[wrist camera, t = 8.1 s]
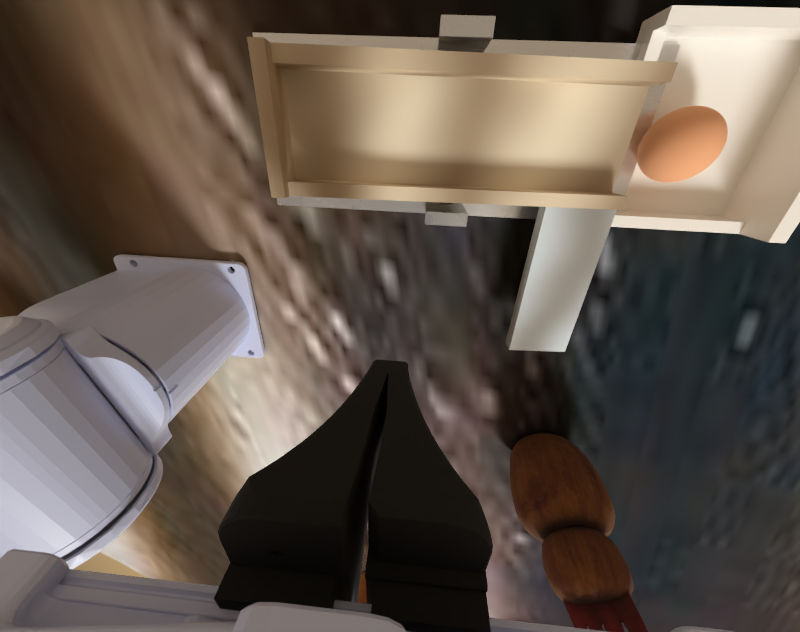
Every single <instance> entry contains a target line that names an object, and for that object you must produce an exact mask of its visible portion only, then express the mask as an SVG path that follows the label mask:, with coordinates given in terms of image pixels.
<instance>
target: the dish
mask: <svg viewBox="0 0 800 632" xmlns="http://www.w3.org/2000/svg"><path fill="white" fill-rule="evenodd" d="M636 44H642V46H641V49H640V52H639V55H638V58H637V60H641V61H657V60H658V57H659V55H660V52H661V49H662V46H663V44H671V45H681V46H680V48H679V51H678V54H677V56H676V59H675V62H678V64H677V67H676V70H675V72H674V75H673V78H672V80H671V82H668V83H666V86H665V89H664V91H663V94H662V97H661V99H660V102H659V105H658V108H657V110H656V113H655V116H654V118H653V121H652V124H651V126H652V125H653V124H654V123H655V122H656V121H657V120H659V119H660V118H661V117H663V116H665V115H666V114H668V113H670V112H672V111H674V110H677V109H680V108H683V107H688V106H705V107H709V108H712V109H714V110H716V111H717V112H719V113H720V114H721V115H722V116H723V118H724V119H725V121H726V124H727V129H728V135H727V141H726V144H725V146H724V148H723V150H722V152H721V153H720V155H719V156H718V158H717V159H716V160H715V161H714V162H713V163H712V164H711V165H710V166H709V167H707V168H706V169H705V170H703V171H702V172H700V173H699V174H697V175H695V176H693V177H691V178H688V179H685V180H682V181H678V182H658V181H655V180H652V179H650V178H649V177H647V176H646V175H645V174H643V172H642V171H641V170H640V168H639V166H638V162H637V164H636V167H635V170H634V172H633V175H632V178H631V180H630V183H629V186H628V188H627V191H626V194H625V196H628V197H627V200H626V203H625V205H624V208H623V210H619V211H616V214H615V216H614V219H613V222H612V225H611V227H626V228H644V229H662V230H680V231H697V232H715V233H733V234H742V235H745V236H748V237H752V238H755V239H759V240H762V241H765V242H772V243H786V242H787V240H788V239H789V237H790V236H791V234H792V233H793V231H794V230H795V228H796V226H797V225H798V223H799V222H800V8H776V7H733V6H690V5H672V6H670V7H668V8H666V9H665V10H663V11H661V12H659V13H657V14H656V15H654V16H652V17H650V18H648V19H647V20H645V21H643V22H642V25H641V28H640V31H639V35H638V38H637V41H636ZM651 126H650V127H651Z"/></svg>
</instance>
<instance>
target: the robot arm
mask: <svg viewBox="0 0 800 632" xmlns="http://www.w3.org/2000/svg"><path fill="white" fill-rule="evenodd" d="M113 260H114V263H115V266H116V268H117V271H114V272H112V273H110V274H107V275H105V276H102V277H100V278H97V279H95V280H93V281H90V282H88V283H85V284H83V285H80V286H78V287H75V288H73V289H71V290H68V291H66V292H63V293H61V294H58V295H56V296H54V297H51V298H49V299H46V300H44V301H41V302H39V303H37V304H34V305H33V306H31V307H29V308H27V309H26V310H24V311H23V312H21V313H20V314H19V315H18V316H7V317H0V632H607V631H598V630H589V629H581V628H572V627H564V626H555V625H546V624H538V623H529V622H521V621H512V620H503V619H495V618H489V613H488V605H487V597H486V592H487V578H486V571H485V570H486V568H487V565H488V562H489V560H490V557H491V554H492V548H493V544H492V539H491V535H490V531H489V527H488V524H487V521H486V518H485V515H484V512H483V510H482V507H481V505H480V502H479V500H478V498H477V497H476V496H475V495H474V494H473V492H472V491H471V490H470V489H469V488H468V486H467V485H466V484H465V483H464V482H463V480H462V479H461V478H460V476H459V475H458V474H457V472H456V471H455V470H454V468H453V467H452V466H451V464H450V463H449V461H448V460H447V458H446V457H445V455H444V454H443V452H442V451H441V449H440V448H439V446H438V444H437V443H436V441H435V439H434V437H433V436H432V434H431V432H430V430H429V428H428V426H427V424H426V422H425V420H424V418H423V416H422V413H421V411H420V409H419V406H418V404H417V401H416V398H415V395H414V392H413V389H412V386H411V382H410V378H409V372H408V364H407V363H406V362H401V361H388V360H375V361H374V362H373V363H372V365H371V367H370V369H369V370H368V372H367V373H366V375H365V376H364V378H363V379H362V381H361V382H360V383H359V385H358V386H357V387H356V389H355V390H354V391H353V393H352V394H351V395H350V396H349V397H348V398H347V400H346V401H345V402H344V403H343V404H342V405H341V407H340V408H339V409H338V410H337V411H336V412H335V413H334V414H333V415H332V416H331V417H330V418H329V419H328V420H327V421H326V422H325V423H324V424H323V425H322V426H320V427H319V428H318V429H317V430H316V431H315V432H314V433H312V434H311V435H310V436H309V437H308V438H306V439H305V440H304V441H303V442H301V443H300V444H299V445H297V446H296V447H294V448H293V449H292V450H290V451H289V452H288V453H286V454H285V455H284V456H282V457H281V458H279V459H278V460H276V461H275V462H273V463H271V464H270V465H268V466H266V467H265V468H263V469H262V470H260V471H258V472H257V473H255V474H253V475H252V476H250V477H249V478H248V479H247V481H246V482H245V484H244V485H243V487H242V488H241V489H240V491H239V492H238V494H237V495H236V497H235V499H234V500H233V502H232V504H231V506H230V508H229V510H228V511H227V513H226V515H225V517H224V519H223V521H222V523H221V524H220V527H219V530H218V533H219V537H220V541H221V543H222V545H223V547H224V549H225V552H226V554H227V556H228V558H229V560H230V562H231V563H230V565H229V567H228V569H227V571H226V573H225V575H224V577H223V580H222V582H221V584H220V586H211V585H202V584H194V583H185V582H177V581H168V580H159V579H151V578H141V577H134V576H124V575H116V574H108V573H99V572H91V571H81V570H73V569H74V568H75V567H77V566H79V565H80V564H82V563H84V562H85V561H87V560H88V559H90V558H91V557H92V556H94V555H96V554H97V553H98V552H100V551H101V550H103V549H104V548H105V547H107V546H108V545H109V544H110V543H112V542H113V541H114V540H115V539H116V538H117V537H118V536H120V535H121V534H122V533H123V532H124V531H125V530H126V529H127V528H128V527H129V526H130V525H131V524H132V523H133V521H134V520H135V519H136V518H137V517H138V515H139V514H140V513H141V512H142V510H143V509H144V508H145V507H146V505H147V504H148V503H149V501H150V499H151V498H152V496H153V495H154V493H155V491H156V489H157V487H158V485H159V483H160V480H161V477H162V472H163V466H162V461H161V459H160V457H159V456H158V455H157V453H158V452H159V451H160V450H161V449H162V448H163V447H164V445H165V444H166V443H167V442H168V441H169V440H170V438H171V437H172V435H171V433H170V431H169V429H168V423H169V422H170V421H171V420H172V419H173V418H174V417H175V416H176V415H177V413H178V412H179V411H180V410H181V409H182V408H183V407H184V406H185V405H186V404H187V403H188V401H189V400H190V399H191V398H192V397H193V396H194V395H195V394H196V393H197V392H198V391H199V390H200V388H201V387H202V386H203V385H204V384H205V383H206V382H207V381H208V380H209V379H210V378H211V377H212V375H213V374H214V373H215V372H216V371H217V370H218V369H219V368H220V367H221V366H222V365H223V364H224V362H225V361H226V360H227V359H228V358H229V357H230V356H240V357H253V358H261V357H263V355H264V354H265V348H264V344H263V339H262V334H261V330H260V325H259V320H258V315H257V311H256V306H255V301H254V297H253V292H252V287H251V283H250V278H249V273H248V269H247V267H246V265H245V264H243V263H241V262H232V261H217V260H202V259H186V258H171V257H156V256H140V255H125V254H120V255H117V256H115V257H114V259H113ZM135 261H136V262H137V264H138V265H137V264H136V263H135ZM230 267H233V268H234V270H235V272H234V271H232V270H231V268H230ZM251 350H252V351H253V352H251ZM367 523H368V531H369V549H368V556H367V563H366V570H365V579H366V597H367V604H366V603H357V601H358V593H359V585H360V577H361V569H362V561H363V553H364V545H365V538H366V530H367ZM670 632H733V631H729V630H720V629H711V628H702V627H694V626H683V627H678V628H675V629H673V630H672V631H670Z"/></svg>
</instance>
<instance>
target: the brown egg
mask: <svg viewBox="0 0 800 632" xmlns="http://www.w3.org/2000/svg"><path fill="white" fill-rule="evenodd" d="M727 135H728V129H727V124H726V121H725V119H724V118H723V116H722V115H721V114H720V113H719V112H717V111H716V110H714V109H712V108H709V107H705V106H688V107H683V108H680V109H677V110H674V111H672V112H670V113H668V114H666V115H665V116H663V117H661V118H660V119H659V120H657V121H656V122H655V123H654V124H653V125H652V126H651V127H650V128H649V129H648V130H647V132H646V133H645V134H644V136H643V137H642V139H641V142H640V144H639V147H638V151H637V162H638V166H639V168H640V170H641V171H642V172H643V174H645V175H646V176H647V177H649V178H650V179H652V180H655V181H658V182H678V181H682V180H685V179H688V178H691V177H693V176H695V175H697V174H699V173H700V172H702V171H703V170H705V169H706V168H707V167H709V166H710V165H711V164H712V163H713V162H714V161H715V160H716V159H717V158H718V156H719V155H720V153H721V152H722V150H723V148H724V146H725V144H726V141H727Z"/></svg>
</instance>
